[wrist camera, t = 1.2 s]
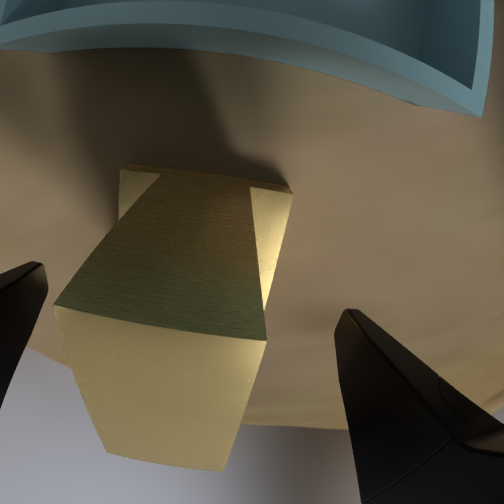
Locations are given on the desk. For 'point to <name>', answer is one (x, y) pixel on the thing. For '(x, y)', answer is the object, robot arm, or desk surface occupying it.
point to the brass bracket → (175, 313)
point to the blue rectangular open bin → (288, 38)
